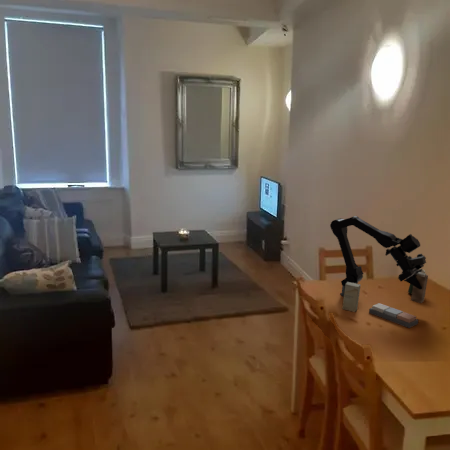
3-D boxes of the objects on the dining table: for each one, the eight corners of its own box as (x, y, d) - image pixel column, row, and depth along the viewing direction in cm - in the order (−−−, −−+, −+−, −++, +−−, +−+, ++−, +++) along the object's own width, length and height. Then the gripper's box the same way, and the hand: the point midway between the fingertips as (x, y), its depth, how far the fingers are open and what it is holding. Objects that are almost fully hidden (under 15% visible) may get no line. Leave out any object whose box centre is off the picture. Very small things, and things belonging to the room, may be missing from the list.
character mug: (421, 299, 240) (425, 274, 237) (406, 296, 243) (409, 271, 240) (421, 292, 250) (425, 268, 247) (407, 289, 253) (410, 265, 250)
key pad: (368, 312, 219) (369, 305, 219) (377, 309, 224) (378, 302, 223) (409, 328, 205) (410, 320, 204) (417, 324, 210) (418, 316, 209)
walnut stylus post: (410, 300, 218) (415, 273, 215) (413, 297, 221) (418, 271, 218) (421, 303, 215) (425, 276, 212) (424, 300, 219) (428, 273, 216)
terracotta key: (396, 319, 210) (397, 314, 210) (403, 316, 214) (404, 311, 213) (408, 323, 206) (409, 319, 205) (415, 320, 209) (416, 316, 209)
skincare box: (341, 309, 222) (344, 284, 219) (344, 306, 226) (347, 281, 223) (355, 312, 219) (358, 286, 217) (357, 309, 223) (360, 284, 220)
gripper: (409, 253, 208) (432, 283, 204) (422, 245, 223) (443, 273, 219) (388, 266, 214) (410, 296, 211) (402, 257, 229) (423, 285, 225)
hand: (422, 287), depth 216 cm, fingers closed on walnut stylus post, 4 cm apart
